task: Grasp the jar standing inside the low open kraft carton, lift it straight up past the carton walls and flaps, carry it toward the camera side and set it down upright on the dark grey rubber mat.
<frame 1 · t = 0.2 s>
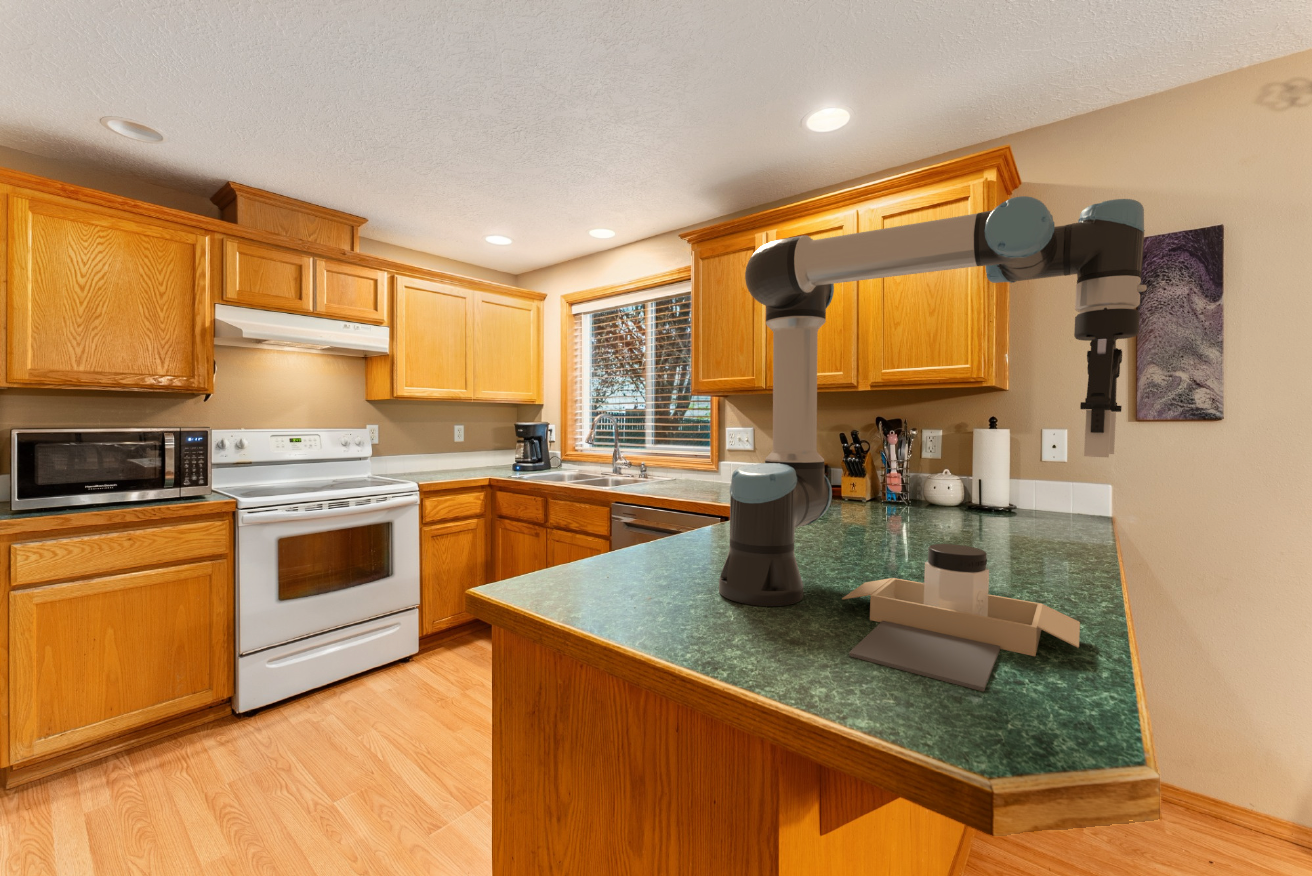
hand: (1099, 455, 85), 27 cm above the counter, fingers open, 13 cm apart
mat: (926, 652, 79), on the counter
jar: (954, 625, 91), resting in carton
carton: (954, 624, 90), on the counter
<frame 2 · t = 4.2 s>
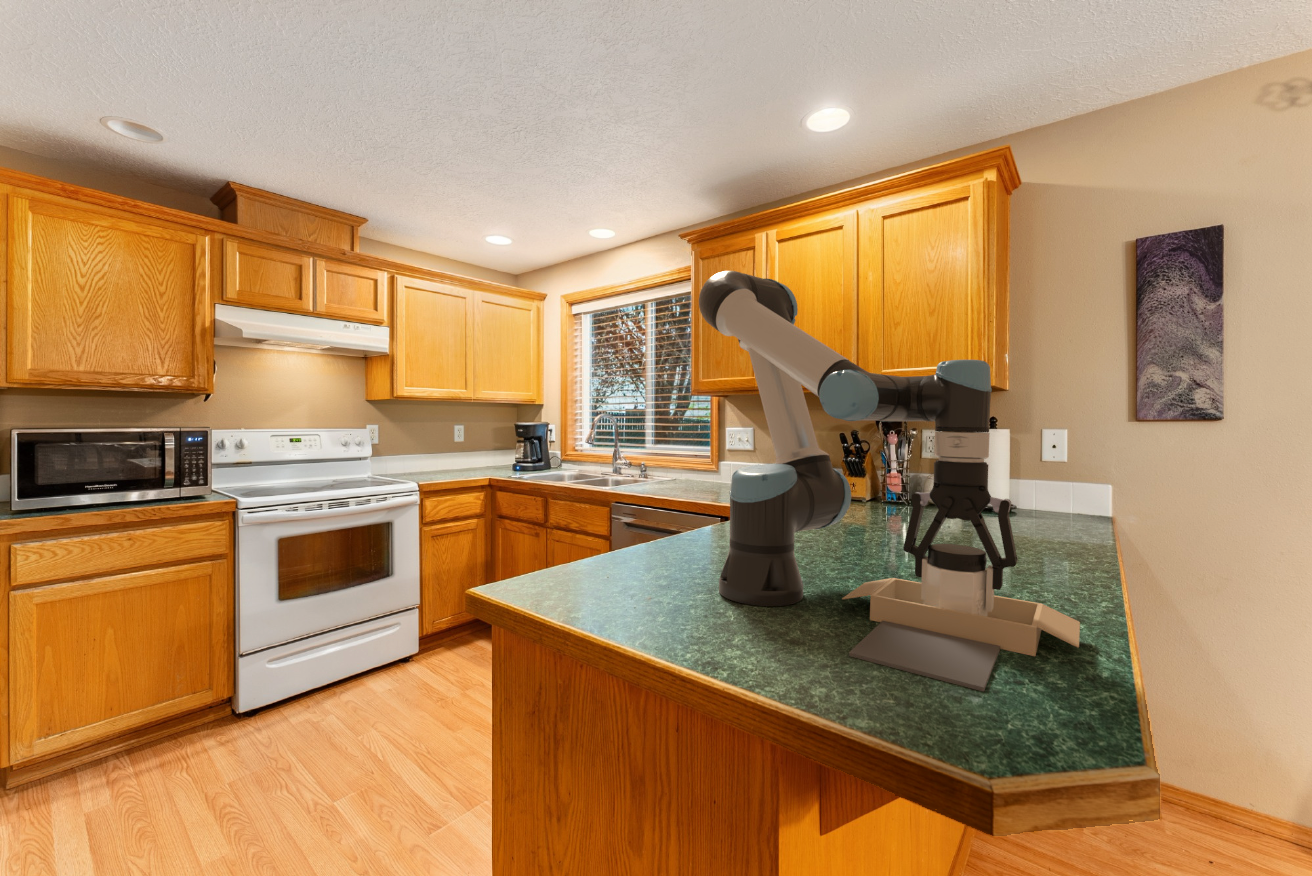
hand: (956, 603, 90), 3 cm above the counter, fingers closed on jar, 8 cm apart
jar: (954, 625, 91), resting in carton, touching gripper
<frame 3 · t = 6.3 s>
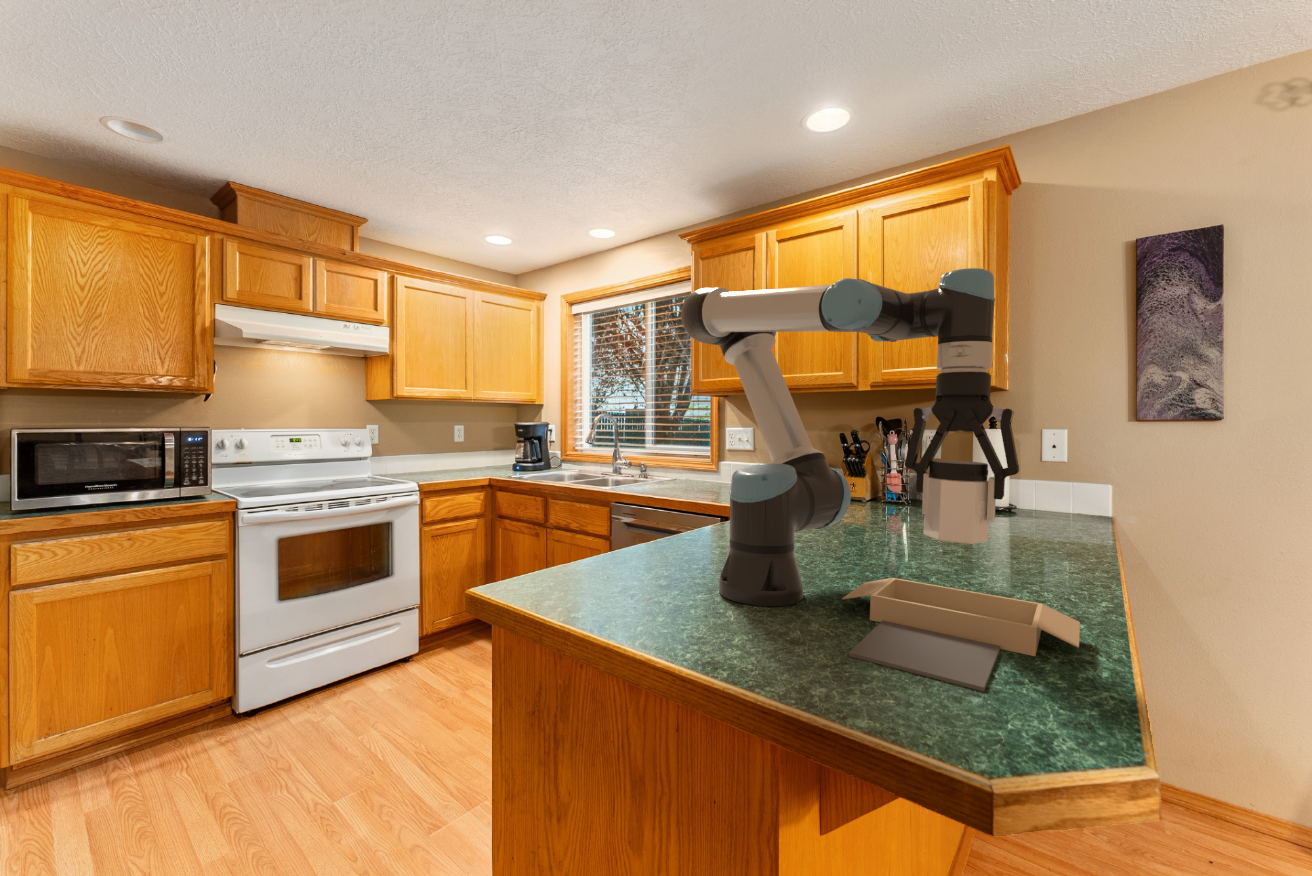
hand: (957, 516, 90), 17 cm above the counter, fingers closed on jar, 8 cm apart
jar: (954, 539, 90), point 13 cm above the counter, touching gripper
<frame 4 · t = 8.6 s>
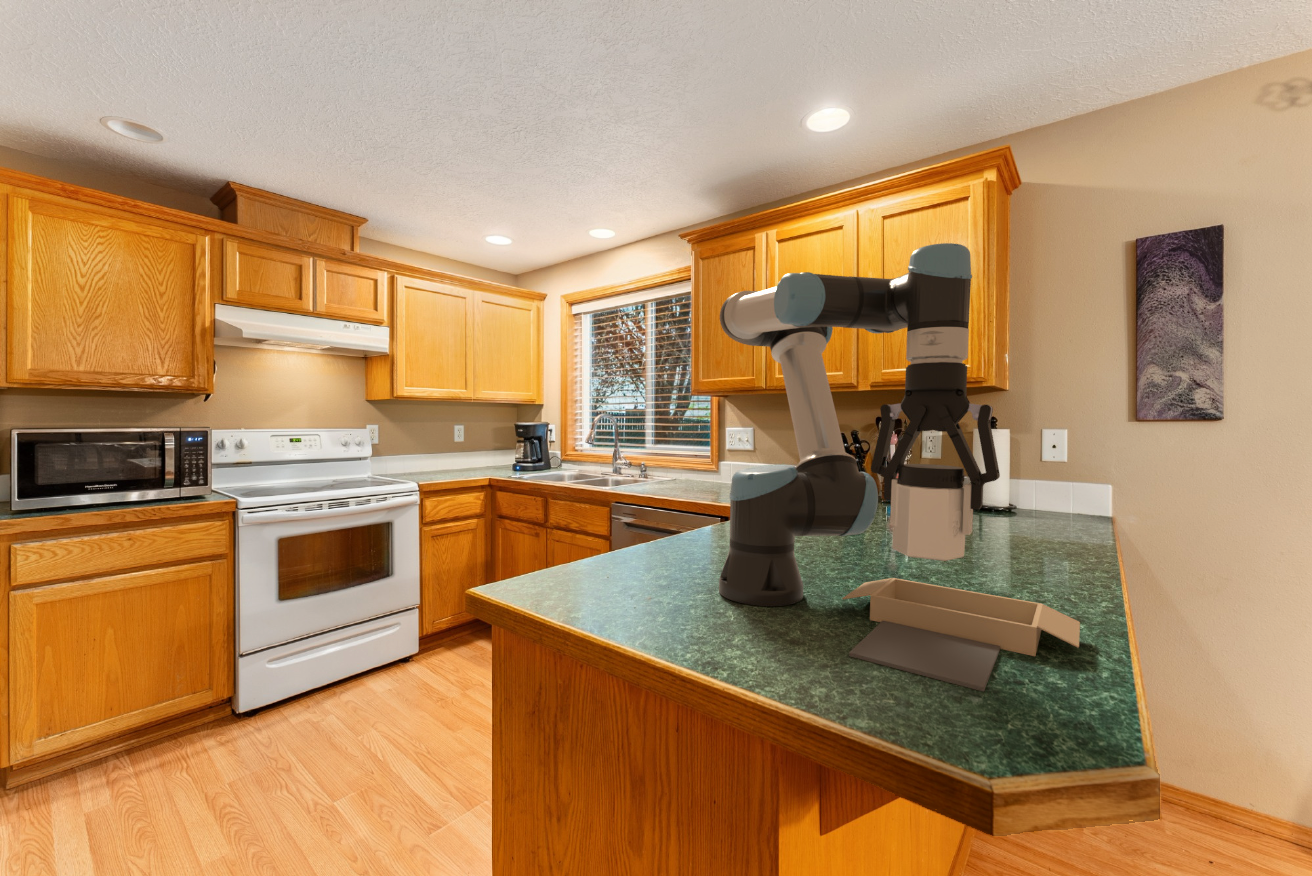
hand: (930, 528, 79), 17 cm above the counter, fingers closed on jar, 8 cm apart
jar: (927, 554, 79), point 14 cm above the counter, touching gripper
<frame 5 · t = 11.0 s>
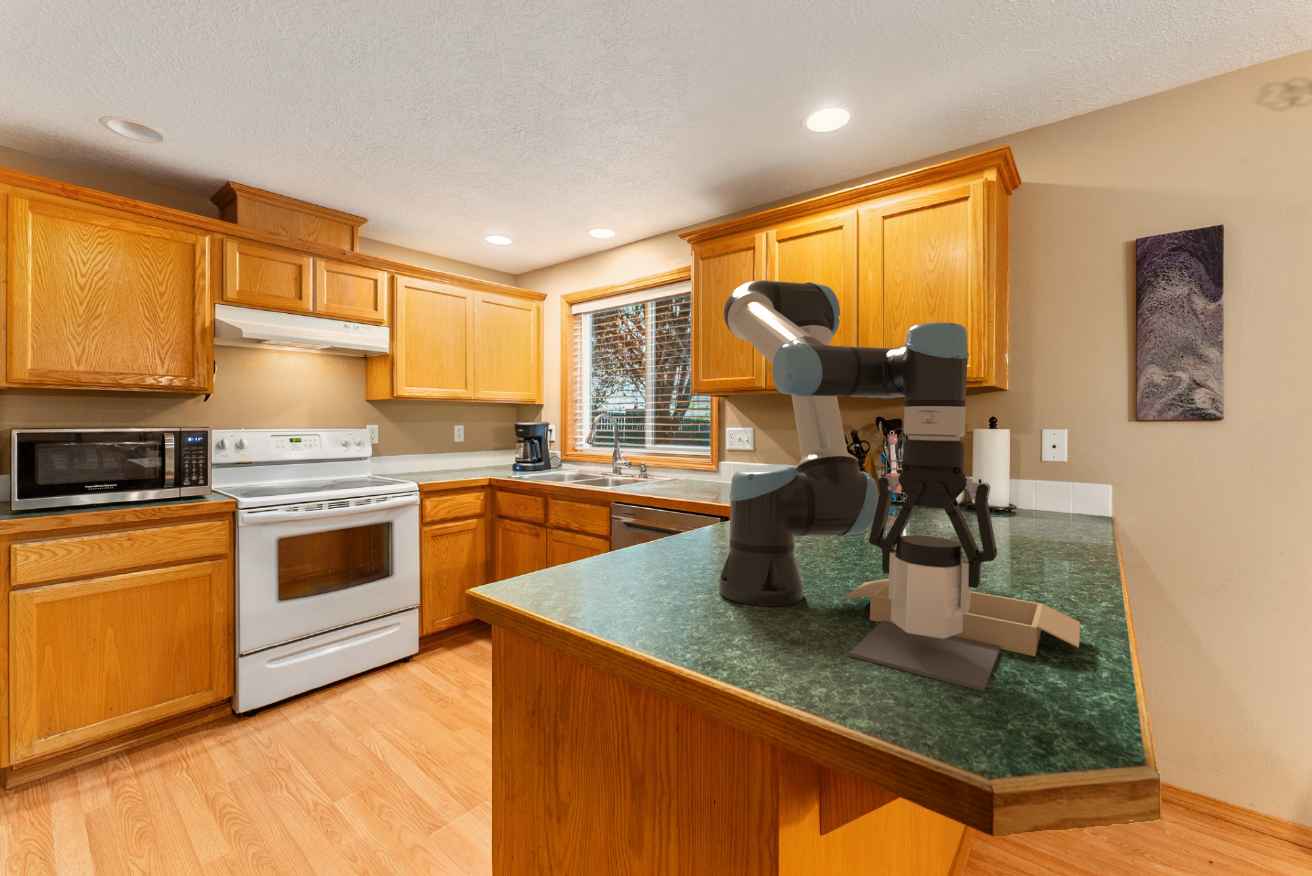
hand: (928, 603, 79), 7 cm above the counter, fingers closed on jar, 8 cm apart
jar: (925, 628, 79), point 3 cm above the counter, touching gripper
when the fingers open (4 cm above the counter, at t = 13.4 s): jar stays where it is, resting on mat.
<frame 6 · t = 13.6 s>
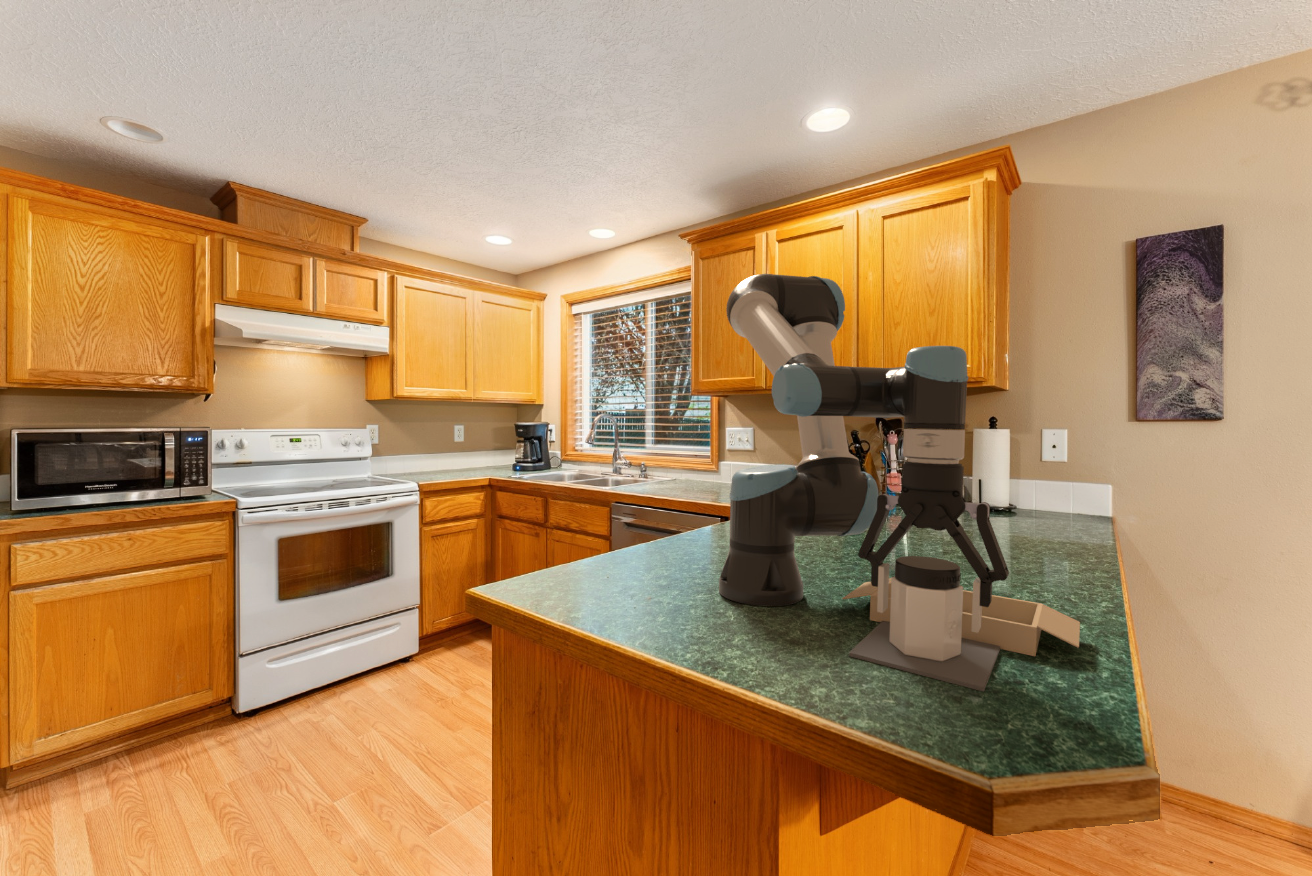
hand: (927, 619, 79), 5 cm above the counter, fingers open, 11 cm apart
jar: (924, 650, 79), resting on mat
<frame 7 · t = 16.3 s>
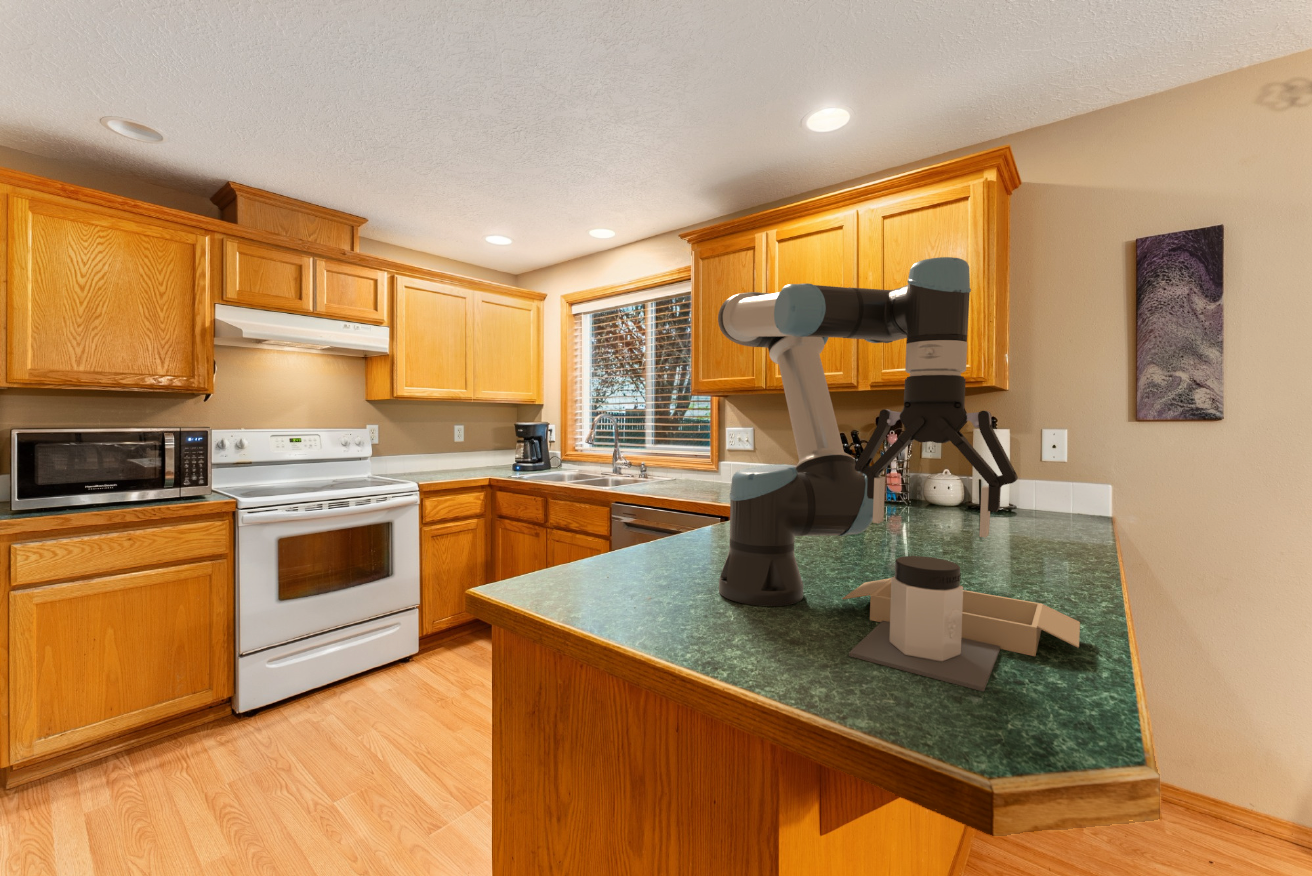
hand: (928, 528, 80), 17 cm above the counter, fingers open, 13 cm apart
nothing on the counter moved.
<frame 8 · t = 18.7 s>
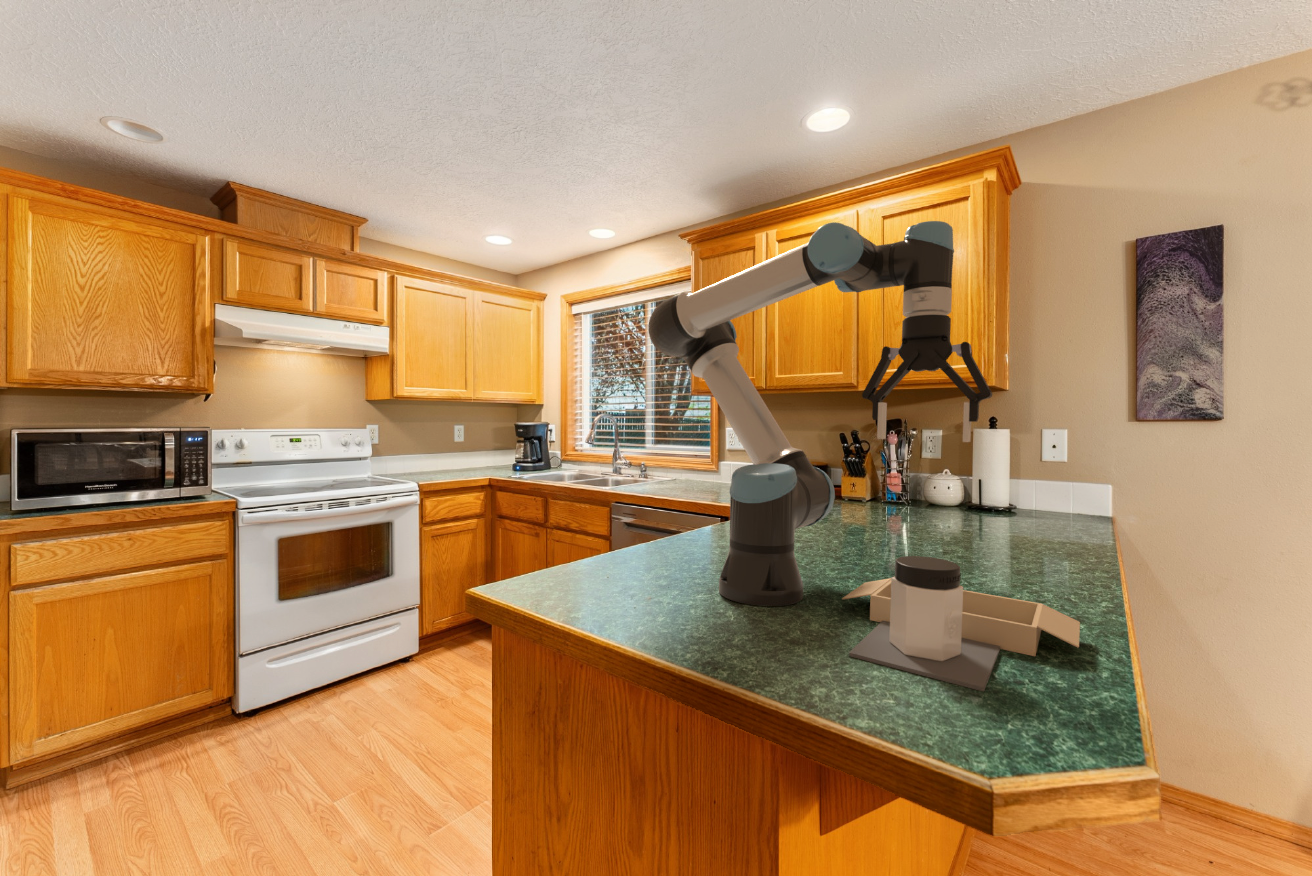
hand: (922, 440, 99), 29 cm above the counter, fingers open, 13 cm apart
nothing on the counter moved.
at the end: jar inside the target area on the mat (0.3 cm from its centre), point 0.3 cm above the mat's base; jar tilted 0°; the gripper is holding nothing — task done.
